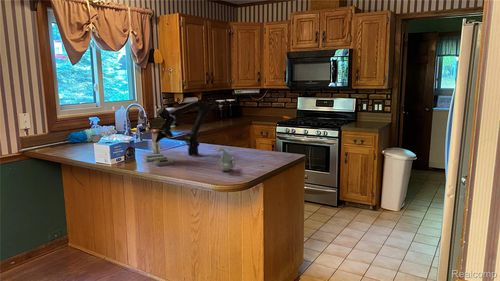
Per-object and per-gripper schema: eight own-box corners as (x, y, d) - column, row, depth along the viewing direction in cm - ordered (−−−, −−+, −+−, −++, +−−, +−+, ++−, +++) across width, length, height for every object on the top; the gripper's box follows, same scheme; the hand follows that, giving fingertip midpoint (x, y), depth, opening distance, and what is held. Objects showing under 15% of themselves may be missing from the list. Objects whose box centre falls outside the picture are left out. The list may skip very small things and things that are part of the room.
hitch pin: (161, 152, 250) (160, 129, 247) (160, 154, 245) (158, 130, 242) (153, 152, 250) (151, 129, 247) (151, 154, 244) (149, 130, 241)
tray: (163, 156, 261) (163, 154, 261) (166, 159, 252) (166, 157, 252) (144, 158, 255) (144, 156, 255) (147, 161, 246) (147, 159, 246)
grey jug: (217, 167, 228) (216, 143, 226) (234, 166, 229) (233, 143, 227) (217, 174, 212) (216, 149, 209) (235, 173, 213) (234, 148, 210)
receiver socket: (169, 161, 245) (169, 158, 245) (172, 164, 237) (172, 161, 237) (155, 163, 242) (154, 160, 241) (157, 166, 233) (157, 163, 233)
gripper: (182, 132, 248) (169, 150, 243) (168, 129, 262) (155, 147, 256) (171, 122, 242) (157, 140, 236) (157, 119, 255) (144, 137, 250)
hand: (154, 141), depth 245 cm, fingers closed on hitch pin, 4 cm apart
